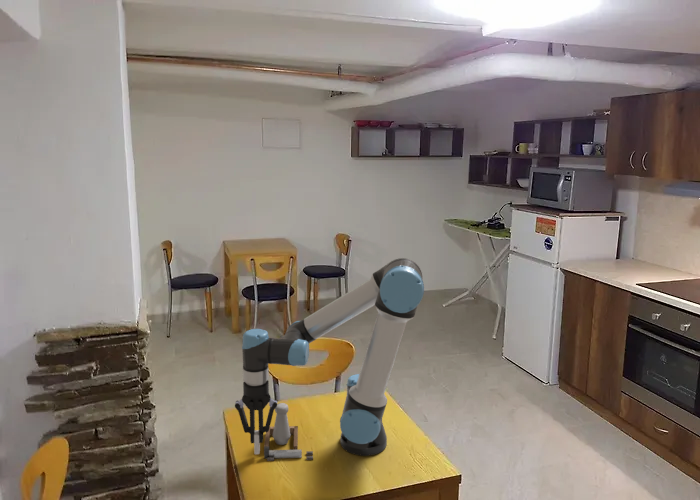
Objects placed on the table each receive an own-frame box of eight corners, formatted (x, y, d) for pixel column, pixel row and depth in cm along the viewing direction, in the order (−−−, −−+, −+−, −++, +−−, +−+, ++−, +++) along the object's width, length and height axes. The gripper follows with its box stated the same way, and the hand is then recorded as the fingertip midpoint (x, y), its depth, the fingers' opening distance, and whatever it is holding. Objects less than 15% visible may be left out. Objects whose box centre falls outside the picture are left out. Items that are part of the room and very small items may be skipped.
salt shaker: (287, 447, 174) (287, 410, 172) (270, 445, 175) (270, 408, 173) (292, 438, 180) (292, 401, 177) (276, 435, 181) (276, 399, 178)
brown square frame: (312, 432, 183) (312, 425, 183) (312, 459, 168) (313, 452, 167) (266, 433, 182) (266, 426, 182) (263, 461, 167) (263, 453, 166)
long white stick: (301, 455, 170) (301, 445, 169) (301, 457, 169) (301, 447, 168) (264, 456, 169) (264, 446, 168) (264, 458, 168) (264, 448, 167)
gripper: (278, 374, 167) (278, 444, 172) (235, 375, 166) (237, 445, 171) (277, 385, 160) (277, 458, 165) (232, 386, 159) (234, 459, 163)
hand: (257, 451), depth 168 cm, fingers closed
